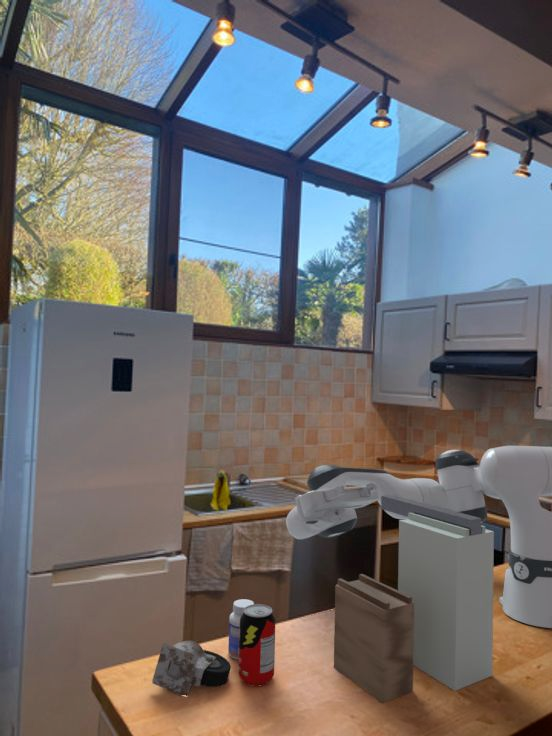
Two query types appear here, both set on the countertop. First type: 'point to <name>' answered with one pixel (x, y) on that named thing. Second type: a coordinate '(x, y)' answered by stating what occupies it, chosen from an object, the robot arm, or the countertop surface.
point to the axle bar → (431, 512)
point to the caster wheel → (189, 668)
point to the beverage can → (257, 645)
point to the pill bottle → (236, 626)
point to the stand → (448, 598)
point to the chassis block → (374, 637)
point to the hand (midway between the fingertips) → (358, 487)
